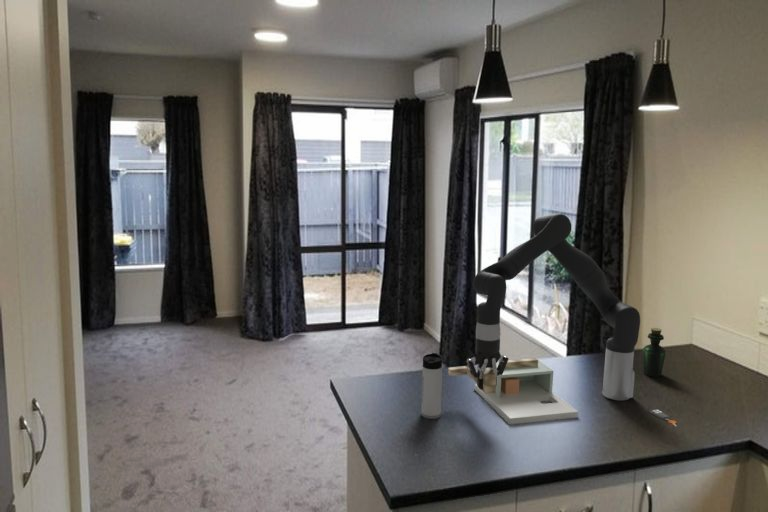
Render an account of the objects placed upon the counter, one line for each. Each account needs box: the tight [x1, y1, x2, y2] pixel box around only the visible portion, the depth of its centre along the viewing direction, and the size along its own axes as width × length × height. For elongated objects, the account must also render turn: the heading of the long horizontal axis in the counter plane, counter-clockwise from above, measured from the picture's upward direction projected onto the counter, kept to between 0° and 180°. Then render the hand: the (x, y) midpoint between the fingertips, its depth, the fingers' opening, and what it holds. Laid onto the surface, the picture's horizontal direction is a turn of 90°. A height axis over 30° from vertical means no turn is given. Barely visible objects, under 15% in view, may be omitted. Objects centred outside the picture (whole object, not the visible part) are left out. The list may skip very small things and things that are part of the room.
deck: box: [473, 359, 579, 425], centre depth 208 cm, size 24×29×10 cm
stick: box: [498, 357, 539, 369], centre depth 215 cm, size 14×2×2 cm, turn 104°
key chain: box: [649, 409, 678, 427], centre depth 196 cm, size 13×4×2 cm, turn 20°
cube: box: [501, 377, 519, 394], centre depth 213 cm, size 5×5×5 cm
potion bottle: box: [642, 327, 667, 378], centre depth 236 cm, size 8×8×18 cm
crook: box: [447, 365, 496, 394], centre depth 198 cm, size 9×19×6 cm, turn 14°
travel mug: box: [421, 352, 443, 420], centre depth 196 cm, size 6×7×20 cm
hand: (486, 388), depth 193 cm, fingers closed on crook, 3 cm apart
